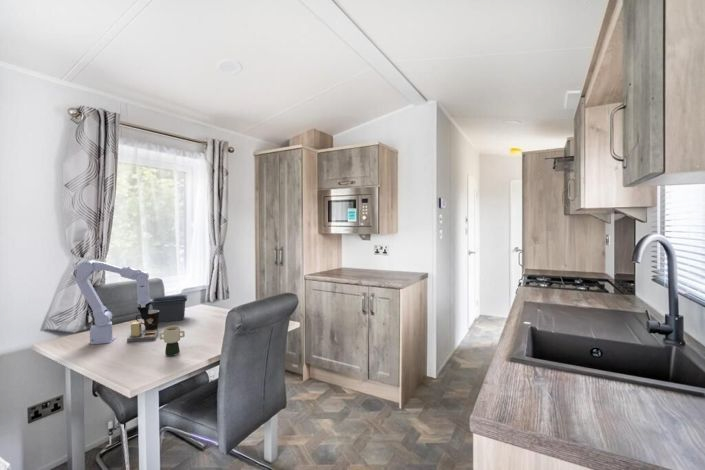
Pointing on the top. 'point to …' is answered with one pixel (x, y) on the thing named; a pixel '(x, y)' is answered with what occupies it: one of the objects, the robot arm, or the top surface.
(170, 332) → the beige trophy cup
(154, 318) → the coffee mug
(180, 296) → the storage bin
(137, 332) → the brass peg
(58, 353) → the top surface
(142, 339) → the socket
